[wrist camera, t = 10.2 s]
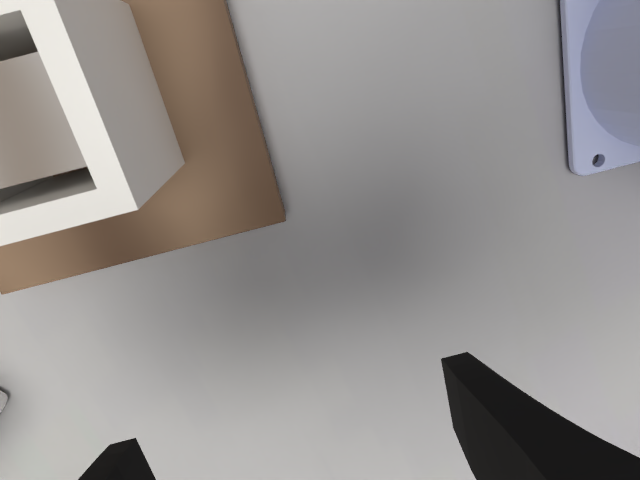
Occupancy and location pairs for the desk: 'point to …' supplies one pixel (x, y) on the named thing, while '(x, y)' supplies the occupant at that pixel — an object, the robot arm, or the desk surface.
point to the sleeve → (90, 114)
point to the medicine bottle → (2, 400)
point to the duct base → (191, 133)
